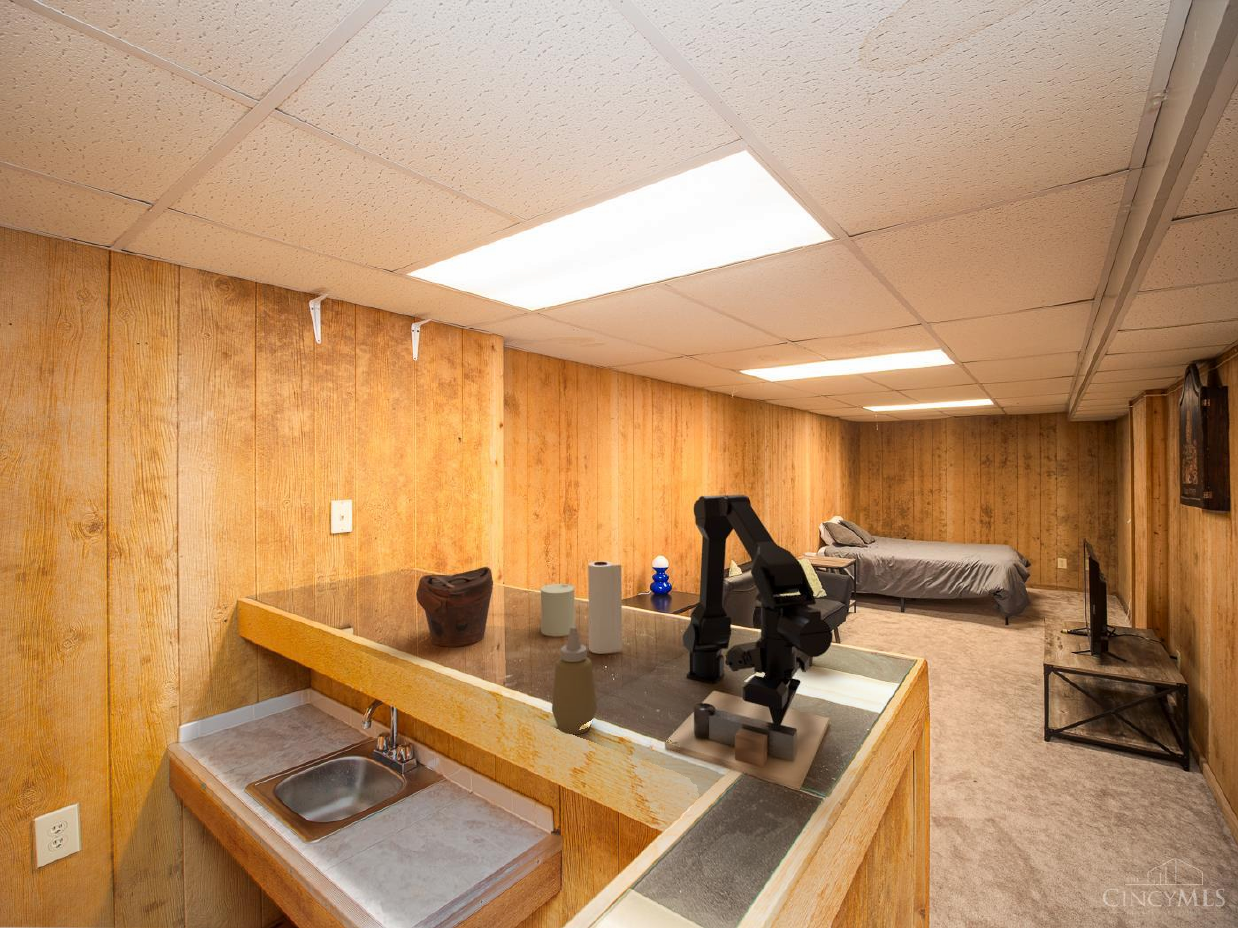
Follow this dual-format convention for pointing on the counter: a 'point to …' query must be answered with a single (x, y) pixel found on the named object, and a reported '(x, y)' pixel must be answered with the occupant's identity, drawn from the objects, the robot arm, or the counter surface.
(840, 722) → the counter surface
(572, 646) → the squeeze bottle
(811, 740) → the tan flat square sheet
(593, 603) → the paper towel roll
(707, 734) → the swing bar
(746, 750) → the block
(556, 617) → the can
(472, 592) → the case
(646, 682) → the counter surface
